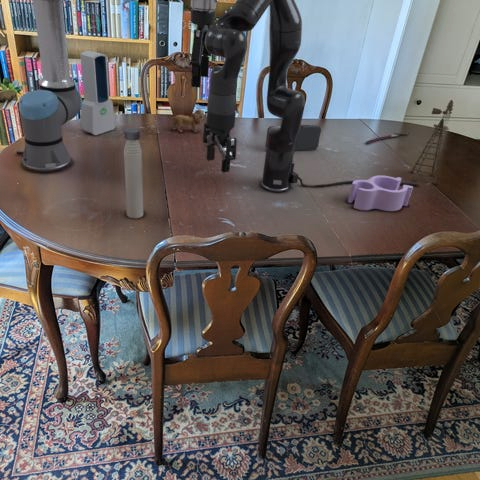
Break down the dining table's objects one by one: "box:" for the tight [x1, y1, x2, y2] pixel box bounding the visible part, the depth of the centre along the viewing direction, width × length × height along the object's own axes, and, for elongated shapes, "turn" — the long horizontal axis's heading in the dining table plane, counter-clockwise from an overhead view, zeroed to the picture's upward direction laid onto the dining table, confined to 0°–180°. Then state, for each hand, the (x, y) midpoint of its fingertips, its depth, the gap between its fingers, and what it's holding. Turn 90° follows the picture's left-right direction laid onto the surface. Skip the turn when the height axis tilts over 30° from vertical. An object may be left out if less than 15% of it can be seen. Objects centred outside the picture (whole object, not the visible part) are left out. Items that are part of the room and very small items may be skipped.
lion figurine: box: [169, 108, 205, 133], centre depth 196 cm, size 15×5×9 cm, turn 110°
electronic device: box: [79, 50, 116, 136], centre depth 182 cm, size 12×8×30 cm, turn 148°
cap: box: [124, 126, 141, 141], centre depth 124 cm, size 4×4×2 cm
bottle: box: [123, 139, 144, 219], centre depth 130 cm, size 5×5×25 cm
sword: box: [365, 132, 410, 145], centre depth 213 cm, size 31×3×1 cm, turn 126°
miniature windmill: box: [410, 99, 454, 185], centre depth 171 cm, size 9×8×30 cm
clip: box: [347, 175, 414, 212], centre depth 156 cm, size 20×12×7 cm, turn 109°
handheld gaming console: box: [264, 124, 322, 151], centre depth 189 cm, size 23×3×10 cm, turn 108°
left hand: (200, 81), depth 152 cm, fingers open, 13 cm apart
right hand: (217, 165), depth 132 cm, fingers open, 8 cm apart
